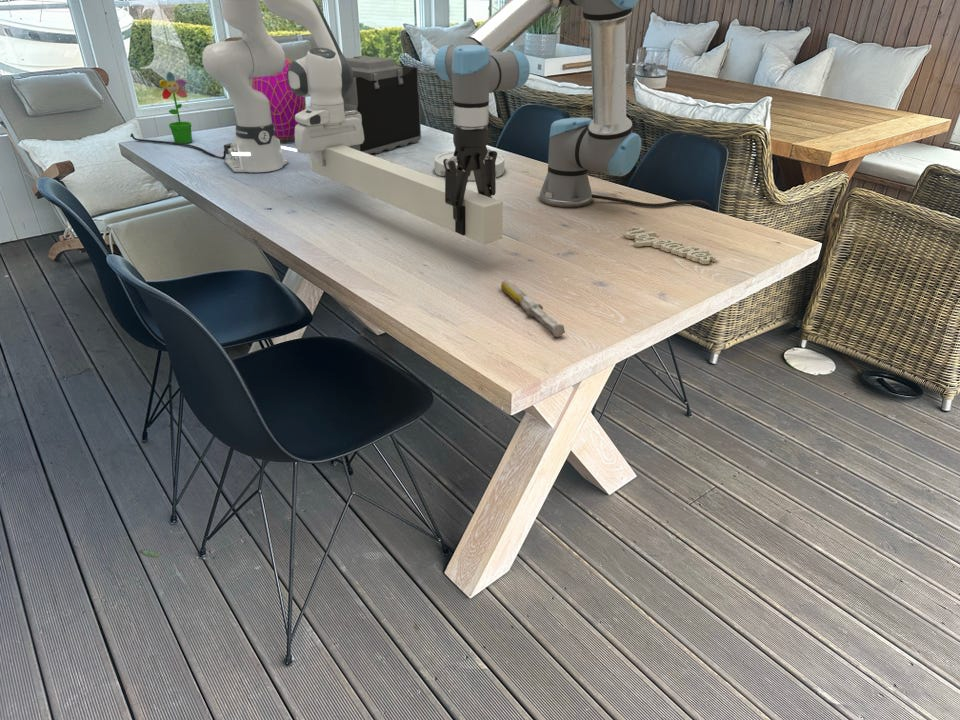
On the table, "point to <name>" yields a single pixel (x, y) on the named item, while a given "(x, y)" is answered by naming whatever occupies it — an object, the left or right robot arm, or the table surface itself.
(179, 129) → the potted flower
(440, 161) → the ashtray
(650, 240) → the decorative sign
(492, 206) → the post
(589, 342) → the table surface
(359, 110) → the cooler box
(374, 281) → the table surface
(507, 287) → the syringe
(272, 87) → the decorative egg
